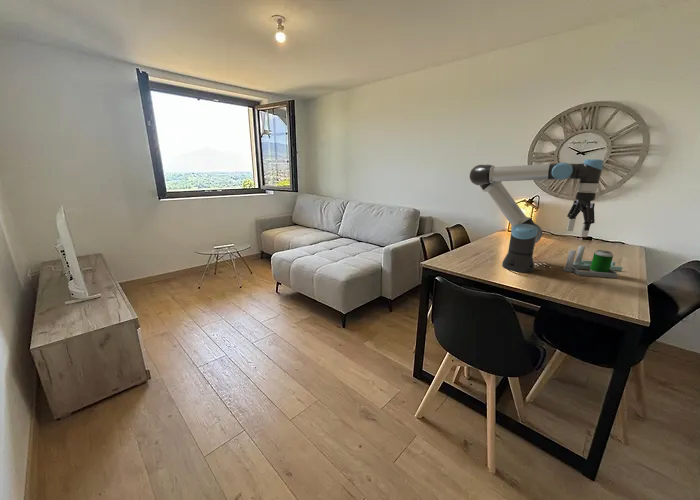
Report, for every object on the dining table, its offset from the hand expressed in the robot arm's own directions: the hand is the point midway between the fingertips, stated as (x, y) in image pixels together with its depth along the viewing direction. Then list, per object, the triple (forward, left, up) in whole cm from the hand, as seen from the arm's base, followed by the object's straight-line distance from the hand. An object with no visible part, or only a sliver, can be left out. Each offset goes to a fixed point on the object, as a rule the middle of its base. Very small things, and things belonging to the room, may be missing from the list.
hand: (576, 233), depth 149 cm
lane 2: (+19, +12, -20) cm, 30 cm away
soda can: (+14, 0, -21) cm, 25 cm away
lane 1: (+9, 0, -20) cm, 22 cm away
